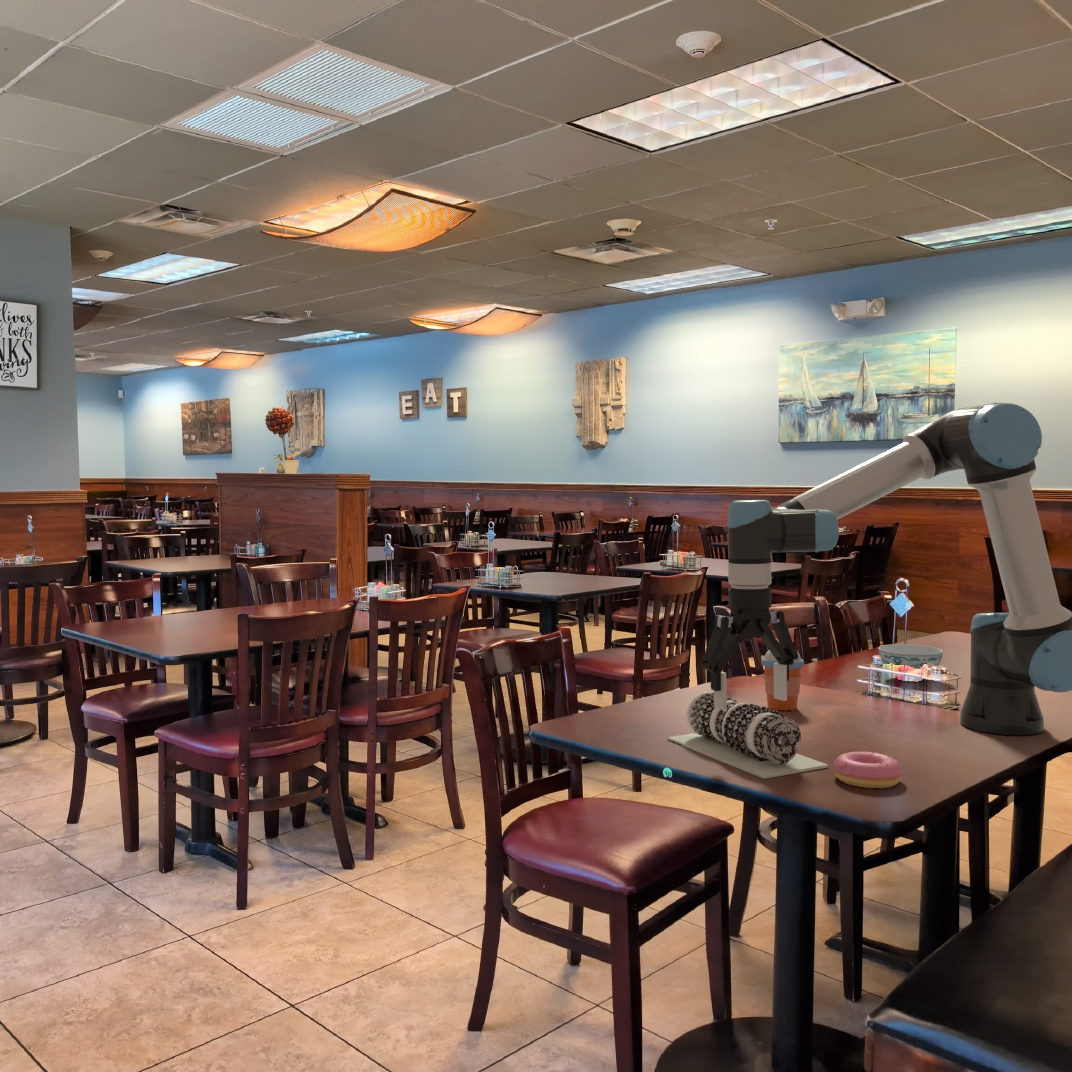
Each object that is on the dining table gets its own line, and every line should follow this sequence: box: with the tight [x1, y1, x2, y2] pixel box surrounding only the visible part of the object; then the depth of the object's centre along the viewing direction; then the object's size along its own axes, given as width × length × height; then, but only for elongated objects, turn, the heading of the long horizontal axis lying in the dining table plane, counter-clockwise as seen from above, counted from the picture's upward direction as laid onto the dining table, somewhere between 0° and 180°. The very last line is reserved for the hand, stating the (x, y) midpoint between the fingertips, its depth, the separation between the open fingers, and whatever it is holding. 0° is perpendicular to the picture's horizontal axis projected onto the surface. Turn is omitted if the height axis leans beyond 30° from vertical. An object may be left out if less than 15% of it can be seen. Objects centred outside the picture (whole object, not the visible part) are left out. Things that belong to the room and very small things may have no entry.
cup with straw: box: [760, 649, 805, 712], centre depth 212 cm, size 9×9×18 cm
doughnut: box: [832, 751, 904, 789], centre depth 160 cm, size 11×11×4 cm
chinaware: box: [877, 643, 944, 668], centre depth 242 cm, size 15×15×8 cm
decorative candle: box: [686, 691, 802, 764], centre depth 175 cm, size 9×9×25 cm
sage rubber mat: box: [667, 732, 829, 779], centre depth 176 cm, size 28×14×1 cm, turn 27°
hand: (750, 704), depth 175 cm, fingers open, 13 cm apart
